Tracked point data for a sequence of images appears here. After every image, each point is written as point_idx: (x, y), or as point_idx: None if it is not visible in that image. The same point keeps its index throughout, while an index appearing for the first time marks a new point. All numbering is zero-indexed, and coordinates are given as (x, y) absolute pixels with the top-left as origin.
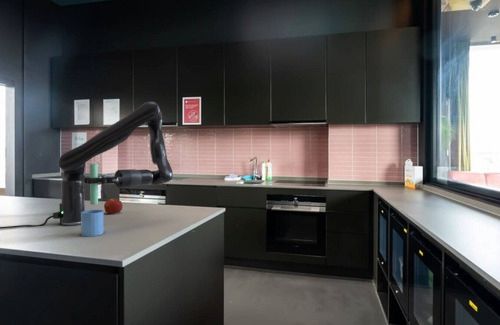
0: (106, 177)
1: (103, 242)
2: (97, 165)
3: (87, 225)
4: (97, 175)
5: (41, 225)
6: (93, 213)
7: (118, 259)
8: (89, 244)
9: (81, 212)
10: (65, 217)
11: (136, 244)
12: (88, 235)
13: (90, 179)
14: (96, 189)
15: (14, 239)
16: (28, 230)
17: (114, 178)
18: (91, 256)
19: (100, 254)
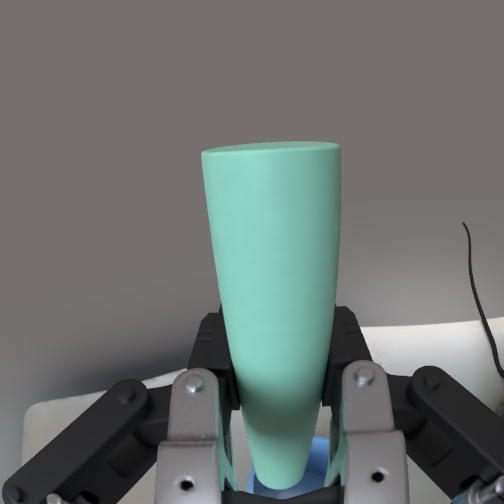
0: (91, 416)
1: (147, 475)
2: (228, 188)
3: None
4: (240, 356)
5: (499, 372)
6: (250, 471)
7: (32, 405)
8: None
9: (322, 438)
10: (498, 410)
11: None
12: None
13: (205, 317)
14: (247, 436)
15: (374, 339)
16: (457, 355)
17: (32, 477)
18: (83, 398)
19: (76, 412)
